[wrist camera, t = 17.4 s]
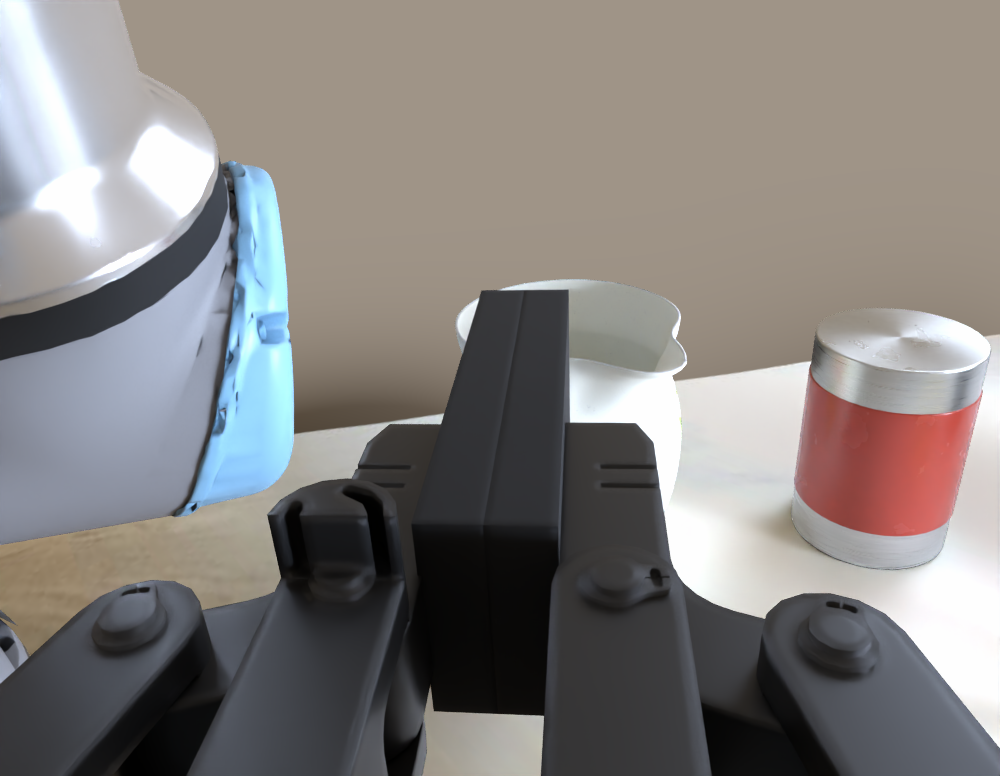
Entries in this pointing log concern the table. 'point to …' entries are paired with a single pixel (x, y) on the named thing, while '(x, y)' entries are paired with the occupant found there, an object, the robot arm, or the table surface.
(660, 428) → the pitcher
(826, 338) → the tin can
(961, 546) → the table surface
